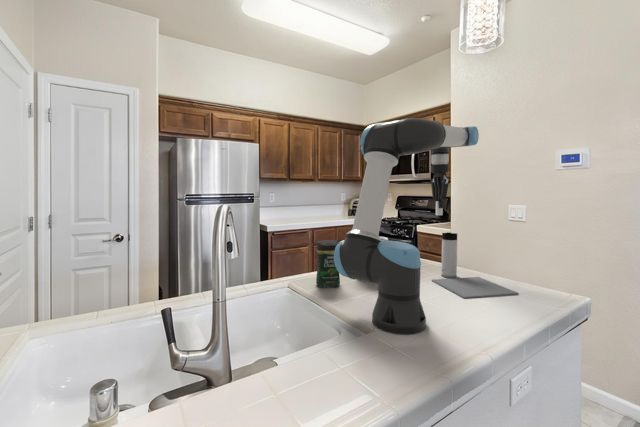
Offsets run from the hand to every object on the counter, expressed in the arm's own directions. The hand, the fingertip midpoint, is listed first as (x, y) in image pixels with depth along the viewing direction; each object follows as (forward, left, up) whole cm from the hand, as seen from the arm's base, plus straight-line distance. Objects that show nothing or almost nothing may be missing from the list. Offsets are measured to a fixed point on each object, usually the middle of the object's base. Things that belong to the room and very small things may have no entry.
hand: (439, 215), depth 147 cm
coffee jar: (-11, +55, -27) cm, 62 cm away
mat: (-25, 0, -27) cm, 37 cm away
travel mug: (-9, 0, -27) cm, 28 cm away
